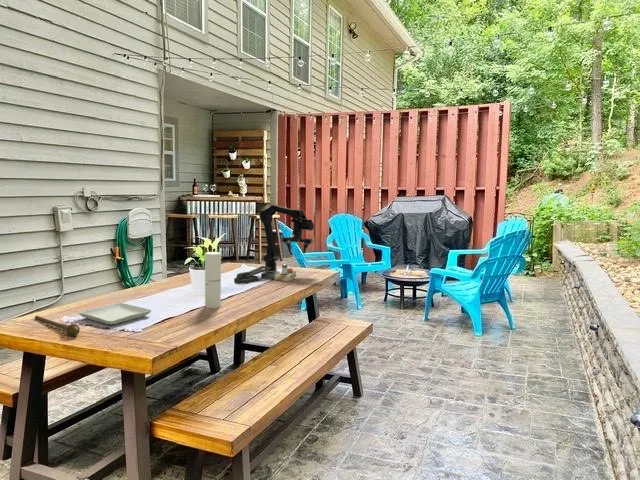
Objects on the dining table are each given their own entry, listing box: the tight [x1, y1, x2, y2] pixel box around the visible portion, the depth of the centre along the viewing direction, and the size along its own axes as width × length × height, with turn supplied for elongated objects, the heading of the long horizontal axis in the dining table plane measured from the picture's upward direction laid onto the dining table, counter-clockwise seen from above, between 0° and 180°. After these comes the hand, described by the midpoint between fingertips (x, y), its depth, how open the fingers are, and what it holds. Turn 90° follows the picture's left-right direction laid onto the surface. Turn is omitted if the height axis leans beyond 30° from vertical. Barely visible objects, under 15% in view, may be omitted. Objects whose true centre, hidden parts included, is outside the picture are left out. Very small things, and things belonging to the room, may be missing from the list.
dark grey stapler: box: [233, 265, 271, 284], centre depth 290 cm, size 9×7×25 cm
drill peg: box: [281, 263, 289, 275], centre depth 294 cm, size 3×3×9 cm
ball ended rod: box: [34, 315, 81, 338], centre depth 189 cm, size 5×35×5 cm
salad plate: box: [77, 302, 152, 326], centre depth 205 cm, size 21×21×3 cm
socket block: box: [260, 270, 297, 280], centre depth 303 cm, size 17×17×3 cm
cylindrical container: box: [204, 251, 222, 309], centre depth 227 cm, size 7×7×25 cm
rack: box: [274, 272, 295, 282], centre depth 294 cm, size 9×9×3 cm
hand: (297, 253), depth 312 cm, fingers open, 9 cm apart
